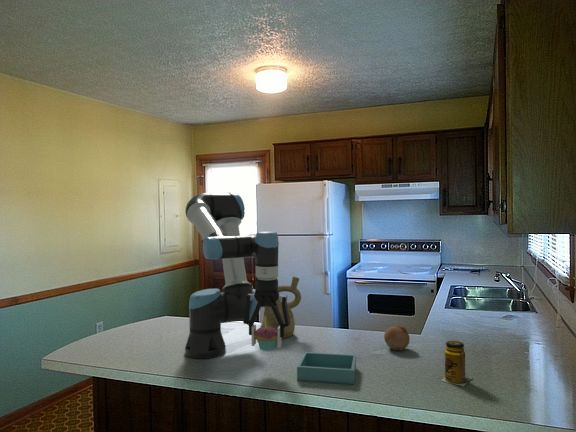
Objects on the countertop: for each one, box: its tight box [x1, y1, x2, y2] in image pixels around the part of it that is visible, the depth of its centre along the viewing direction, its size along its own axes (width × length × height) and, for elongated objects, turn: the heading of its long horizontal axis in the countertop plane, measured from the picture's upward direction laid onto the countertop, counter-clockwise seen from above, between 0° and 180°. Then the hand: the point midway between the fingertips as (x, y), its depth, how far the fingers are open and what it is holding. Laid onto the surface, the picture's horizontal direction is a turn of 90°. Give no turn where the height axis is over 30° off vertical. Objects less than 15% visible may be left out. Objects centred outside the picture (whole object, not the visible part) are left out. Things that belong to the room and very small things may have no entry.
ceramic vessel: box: [260, 276, 302, 339], centre depth 194 cm, size 17×20×25 cm
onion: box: [383, 325, 411, 352], centre depth 173 cm, size 10×9×10 cm
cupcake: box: [254, 315, 278, 351], centre depth 151 cm, size 9×8×12 cm
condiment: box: [439, 340, 473, 387], centre depth 142 cm, size 7×8×12 cm
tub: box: [296, 351, 357, 386], centre depth 148 cm, size 18×15×4 cm
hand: (266, 345), depth 151 cm, fingers closed on cupcake, 8 cm apart
